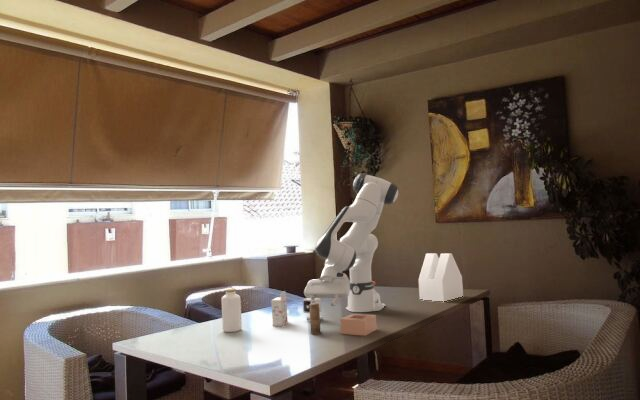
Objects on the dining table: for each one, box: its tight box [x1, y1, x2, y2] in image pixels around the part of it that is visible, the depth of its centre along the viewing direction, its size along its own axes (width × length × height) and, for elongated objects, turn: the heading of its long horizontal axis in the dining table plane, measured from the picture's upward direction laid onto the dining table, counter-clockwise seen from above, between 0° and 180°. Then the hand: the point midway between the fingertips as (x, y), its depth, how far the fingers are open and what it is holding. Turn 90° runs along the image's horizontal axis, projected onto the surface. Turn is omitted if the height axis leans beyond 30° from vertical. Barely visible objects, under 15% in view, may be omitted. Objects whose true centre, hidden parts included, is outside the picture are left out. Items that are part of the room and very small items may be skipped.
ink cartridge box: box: [270, 290, 288, 327], centre depth 226 cm, size 9×5×15 cm, turn 168°
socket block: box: [339, 313, 378, 337], centre depth 201 cm, size 11×11×6 cm
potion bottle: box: [221, 288, 243, 333], centre depth 217 cm, size 8×8×18 cm
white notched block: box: [418, 252, 464, 303], centre depth 271 cm, size 19×15×25 cm
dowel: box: [309, 303, 322, 335], centre depth 203 cm, size 4×4×12 cm
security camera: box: [302, 298, 323, 321], centre depth 231 cm, size 6×7×10 cm
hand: (322, 305), depth 206 cm, fingers open, 8 cm apart
